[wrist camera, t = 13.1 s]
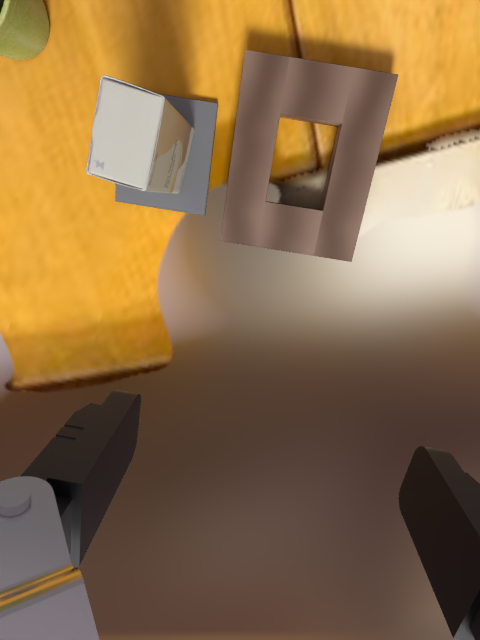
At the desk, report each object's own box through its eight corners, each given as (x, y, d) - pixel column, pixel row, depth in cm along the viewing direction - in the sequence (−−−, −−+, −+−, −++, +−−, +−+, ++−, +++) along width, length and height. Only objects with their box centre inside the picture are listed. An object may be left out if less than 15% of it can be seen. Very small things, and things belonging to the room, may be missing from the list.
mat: (218, 104, 35) (217, 103, 35) (205, 215, 38) (204, 215, 38) (121, 88, 35) (119, 87, 35) (116, 201, 38) (115, 201, 38)
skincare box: (180, 194, 38) (145, 197, 26) (137, 181, 37) (83, 178, 26) (196, 124, 35) (166, 94, 24) (151, 110, 35) (99, 72, 24)
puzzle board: (390, 80, 34) (398, 74, 32) (346, 258, 39) (351, 261, 37) (246, 57, 34) (245, 49, 32) (222, 238, 39) (220, 240, 37)
